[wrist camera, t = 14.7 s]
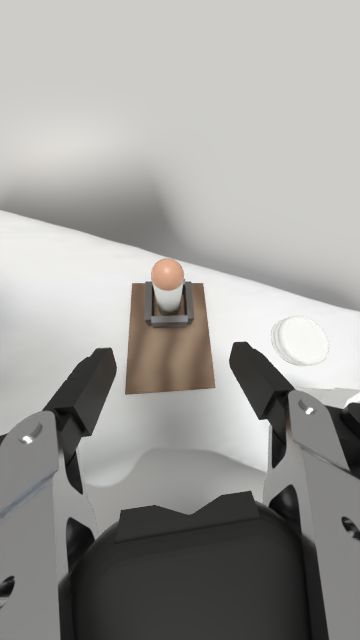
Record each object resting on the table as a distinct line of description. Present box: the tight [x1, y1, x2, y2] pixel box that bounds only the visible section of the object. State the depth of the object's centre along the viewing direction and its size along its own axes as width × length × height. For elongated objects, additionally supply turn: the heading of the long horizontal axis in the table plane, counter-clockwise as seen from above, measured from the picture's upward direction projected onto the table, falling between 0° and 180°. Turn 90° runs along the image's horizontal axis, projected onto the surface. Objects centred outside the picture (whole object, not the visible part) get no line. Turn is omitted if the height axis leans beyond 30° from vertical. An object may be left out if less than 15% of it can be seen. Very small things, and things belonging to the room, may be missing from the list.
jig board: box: [125, 279, 215, 394], centre depth 26 cm, size 16×22×5 cm
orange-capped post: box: [151, 258, 184, 316], centre depth 22 cm, size 4×4×13 cm
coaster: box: [271, 316, 329, 365], centre depth 28 cm, size 10×10×4 cm
